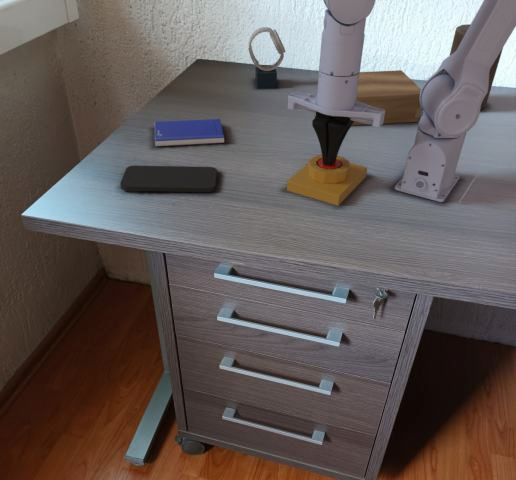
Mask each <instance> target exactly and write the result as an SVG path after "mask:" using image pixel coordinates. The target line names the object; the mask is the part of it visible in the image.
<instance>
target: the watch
mask: <svg viewBox="0 0 516 480" xmlns="http://www.w3.org/2000/svg"><path fill="white" fill-rule="evenodd" d="M262 33H269V36H270V39H271V41H272V43H273V45H274V47H275V49H276V51H277V53H278V54H279V55H280V56H279V58H278V59H277V60H276V61H275V62H274V63H272V64H260V63H259V62H260V61H259V60H258V59H257V57H256V56H255V54H254V52H253V45H252V43H253V40H255V38H256V37H257V36H258V35H259V34H262ZM284 53H286V48H285V46H284V44H283V42H282V40H281V38H280V35H279V33H278V31H277V30H276V29H274V28H273V29H272V28H271V27H267V26H264V27H263V26H262V27H260V28H257V29H256V30H255V31H254V32H253V33H252V34H251V35H250V37H249V41H248V54H249V56H250V59H251V62H252V63H253V65H254V66H255V74H254V75H255V76H254V77H255V78H254V80H255V84H256V89H277V85H278V71H277V68H278V67H279V66H280V65H281V64H282V62H283V61H284V57H285V54H284Z"/></svg>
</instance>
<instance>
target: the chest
mask: <svg viewBox="0 0 516 480" xmlns="http://www.w3.org/2000/svg"><path fill="white" fill-rule="evenodd" d="M359 102H362V103H365V104H367V105H370V106H373V107H376V108H379V109H383V110H386V111H385V117H384V122H383V124H397V123H398V124H399V123H400V124H401V123H416V122H418V123H419V118H420V113H421V109H422V107H421V105H420V100H419V98H412V99H393V100H373V101H359ZM383 124H382V125H383ZM362 125H363V126H365V125H368V124H367V123H362V122H357V121H354V123H353V124H352V126H362Z"/></svg>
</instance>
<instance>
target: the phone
mask: <svg viewBox="0 0 516 480" xmlns="http://www.w3.org/2000/svg"><path fill="white" fill-rule="evenodd" d="M122 175H123V176H122V178H121V181H120V189H121V190H123V191H125V192H126V191H128V192H131V191H133V192H172V193H173V192H176V193H177V192H178V193H181V192H182V193H211V192H214V191H216V187H217V178H218V169H217V168H216V167H213V166H182V165H181V166H180V165H179V166H177V165H175V166H174V165H129V166H127V167H126V168H125V170H124V173H123V174H122Z"/></svg>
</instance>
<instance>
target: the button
mask: <svg viewBox="0 0 516 480" xmlns="http://www.w3.org/2000/svg"><path fill="white" fill-rule="evenodd" d="M318 166H319V167H320V168H324V169H338V168H340V167H341V162H340V161H339V160H337V159H336V162H335V163H334V164H333V165H332V166H328V165H324V164H323V159H320V160H319V161H318Z"/></svg>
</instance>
